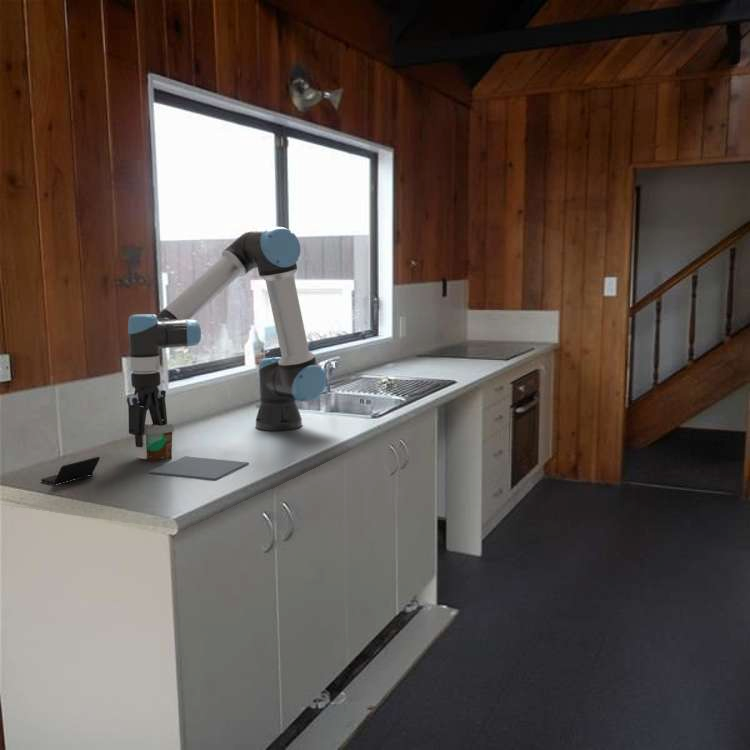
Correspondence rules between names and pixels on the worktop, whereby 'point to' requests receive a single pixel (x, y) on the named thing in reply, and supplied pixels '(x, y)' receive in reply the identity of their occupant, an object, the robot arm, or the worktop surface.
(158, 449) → the food container
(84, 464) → the handheld gaming console
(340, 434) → the worktop surface
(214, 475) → the mat
